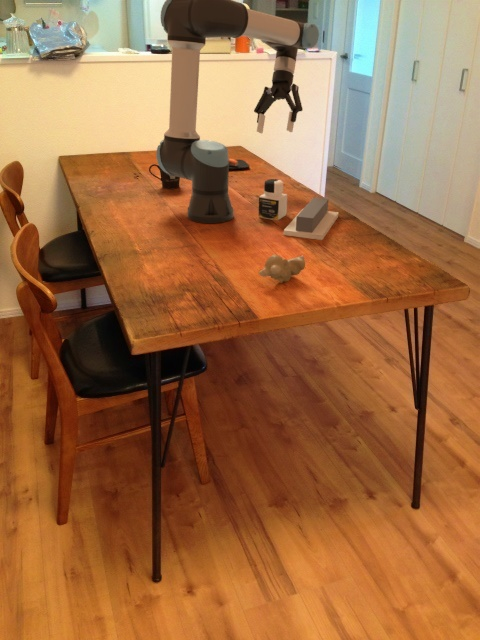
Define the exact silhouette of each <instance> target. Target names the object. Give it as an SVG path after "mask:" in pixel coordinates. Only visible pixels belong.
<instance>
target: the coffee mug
mask: <svg viewBox="0 0 480 640" xmlns="http://www.w3.org/2000/svg"><path fill="white" fill-rule="evenodd" d="M152 167H157V168H158V170H159V174H160V177H158V176H157V175H155V174H153V172H152V171H151V169H152ZM148 172H149V173H150V175H151V176H153V177H154V178H156V179H158V180H160V182H161V185H162V188H163V189H166V190H167V189H168V190H170V189H171V190H173V189H177V188H180V183H181V182H180V181H181V178H180V177H174V176H172V175H170V174H168V173H166V172H164V171H163V170H162V169H161V168H160V166H159V164H154V163H153V164H151V165H150V166H149V168H148Z"/></svg>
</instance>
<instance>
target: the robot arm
mask: <svg viewBox="0 0 480 640" xmlns="http://www.w3.org/2000/svg"><path fill="white" fill-rule="evenodd" d="M160 25H161V27H163V31H164V32H165V33H166V34H167V42H168V44H169V45H170V47H171V69H170V71H171V72H170V99H169V120H168V122H169V124H168V126H169V127H168V130H167V131H165V133H163V139H162V140H161V141H160V142H159V144H158V145H157V148H156V155H155V156H156V161H157V165H159V166H160V168H161V169H162V170H163V171H164V172H166V173H168V174H170V175H172V176H174V177H180V179H185V180H187V181H188V180H189V181H191V186H192V187H191V197H190V199H189V205H188V206H187V214H186V215H187V218H188V219H189V220H190V221H193V222H195V223H200V224H201V223H202V224H219V223H220V224H222V223H226V222H228V221H230V220H233V218H234V208H233V206H232V203H231V198H230V195H229V194H230V193H229V171H230V170H229V159H230V158H229V150H228V148H227V146H226V145H225V144H223V143H221V142H217V141H215V140H207V139H201V136H200V134H199V133H197V130H196V129H197V113H198V112H197V111H198V97H199V96H198V95H199V94H198V93H199V91H198V90H199V77H200V75H199V73H200V58H201V56H200V55H201V50H202V49H203V48H204V47H205V46H206V41H207V40H206V39H207V38H209V39H210V38H232V39H239V38H242V37H246V38H250V39H255V40H260V41H261V42H262V43H264V44H266V45H267V47H270V48H271V49H273V50H274V51H276V52H275V54H276V55H275V59H274V65H273V73H272V79H271V83H272V85H271V87H268V86H264V88H263V92H262V94H261V96H260V98H259V100H258V102H257V104H256V106H255V108H254V110H253V112H254V113H255V114H257V118H256V123H257V128H256V132H258V133H259V134H263V132H264V126H265V121H266V115H265V114H266V112H267V111H268V110H269V109H270V107H271V106H272V105H273V103H275V102H276V101H280V100H285V101H286V103H287V104H288V107H289V108H290V111H289V113H288V117H287V124H286V131H288V132H290V133H293V130H294V124H295V123H296V121H297V115H298V113H299V112H302V111H303V106H302V101H301V97H300V93H299V88H300V87H299V85H297V84H295V83H293V82H294V74H295V70H296V64H297V57H298V50H299V49H305V50H306V49H313V48H315V46H316V45H317V43H318V41H319V36H320V32H319V28H318V26H317V25H316V24H315V23H310V22H300V21H296V20H293V19H289V18H284V17H280V16H276V15H273V14H269V13H266V12H262V11H259V10H258V11H257V10H255V9H250V8H248V7H246V5H245V4H244V3H242V2H239V1H236V0H165V1H164V3H163V4H162V7H161V10H160ZM290 93H291V94H292V96H291V95H290ZM292 98H293V99H292Z"/></svg>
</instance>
